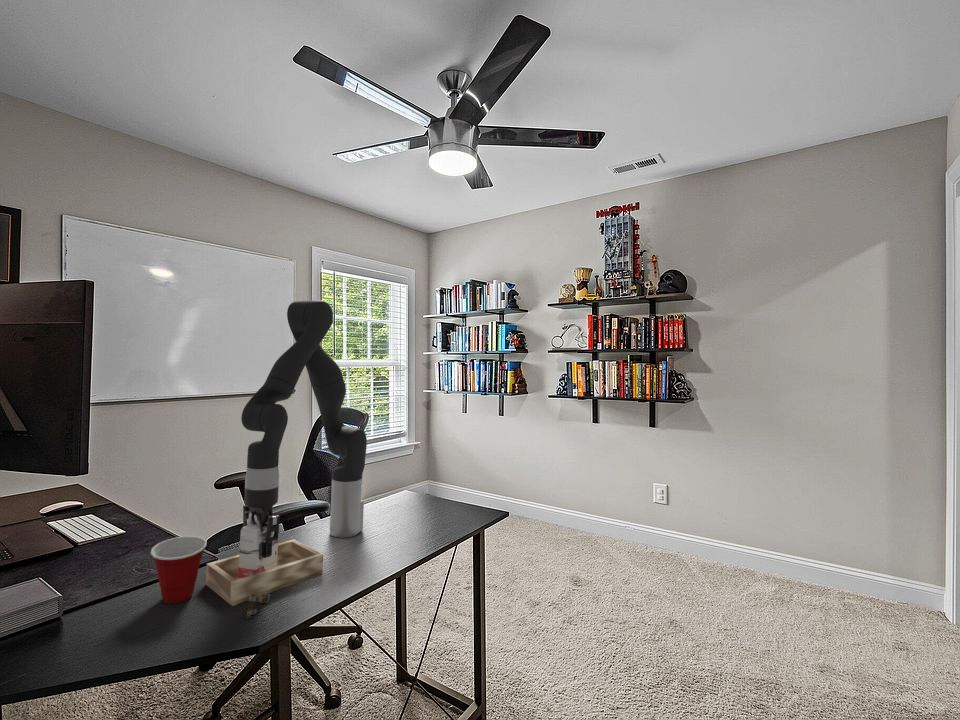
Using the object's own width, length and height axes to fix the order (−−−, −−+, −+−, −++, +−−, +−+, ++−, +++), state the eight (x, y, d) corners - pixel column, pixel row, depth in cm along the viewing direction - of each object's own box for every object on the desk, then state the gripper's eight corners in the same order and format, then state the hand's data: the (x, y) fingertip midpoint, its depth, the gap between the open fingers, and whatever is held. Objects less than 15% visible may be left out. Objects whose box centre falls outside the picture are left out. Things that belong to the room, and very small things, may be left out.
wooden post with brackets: (241, 618, 101) (246, 594, 103) (257, 615, 109) (262, 592, 110) (249, 618, 101) (255, 594, 103) (265, 615, 109) (270, 593, 110)
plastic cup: (140, 612, 103) (142, 556, 103) (158, 588, 113) (160, 537, 113) (197, 607, 106) (200, 552, 106) (210, 584, 117) (212, 534, 116)
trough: (293, 557, 134) (293, 539, 134) (322, 574, 125) (323, 554, 125) (205, 584, 116) (206, 563, 116) (232, 606, 107) (233, 583, 107)
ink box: (255, 581, 114) (257, 530, 114) (237, 578, 115) (238, 528, 115) (278, 566, 123) (280, 519, 123) (261, 563, 124) (262, 517, 124)
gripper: (291, 487, 117) (289, 556, 117) (262, 476, 126) (260, 540, 126) (261, 493, 111) (258, 566, 111) (233, 481, 121) (230, 548, 121)
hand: (259, 552), depth 119 cm, fingers closed on ink box, 6 cm apart
